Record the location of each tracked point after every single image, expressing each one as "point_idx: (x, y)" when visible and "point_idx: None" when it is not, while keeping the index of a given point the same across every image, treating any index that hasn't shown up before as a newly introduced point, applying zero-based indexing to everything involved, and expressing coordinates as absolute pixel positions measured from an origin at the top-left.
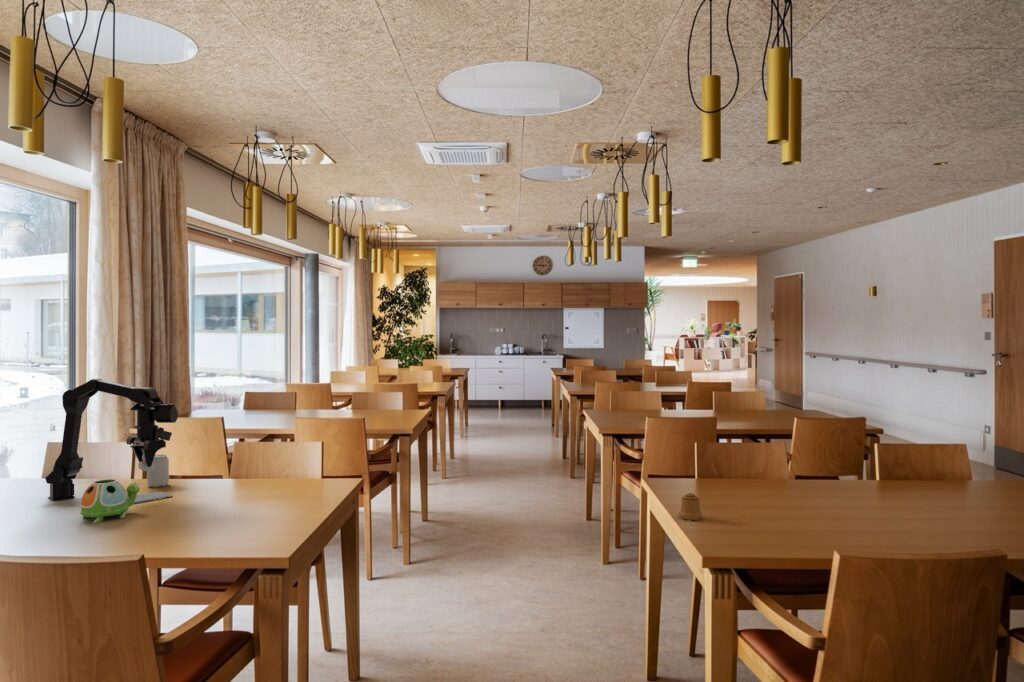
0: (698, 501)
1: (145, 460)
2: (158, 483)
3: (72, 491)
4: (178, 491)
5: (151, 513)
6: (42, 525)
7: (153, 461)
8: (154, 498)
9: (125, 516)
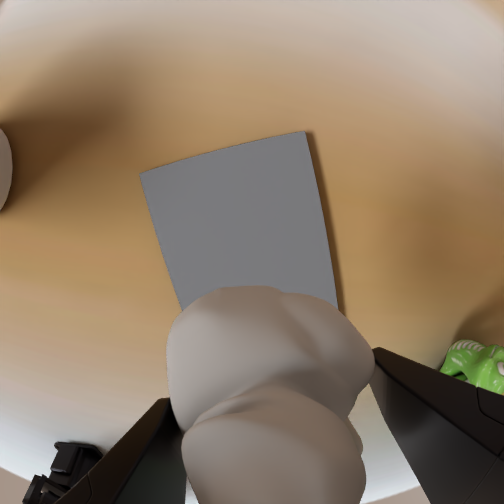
0: None
1: (410, 448)
2: (5, 171)
3: (79, 458)
4: (164, 76)
5: (500, 274)
6: (391, 475)
7: (303, 344)
8: (322, 230)
9: (482, 344)
